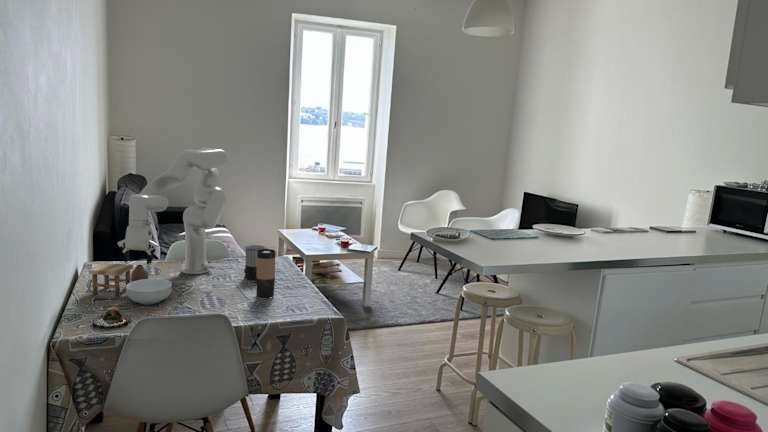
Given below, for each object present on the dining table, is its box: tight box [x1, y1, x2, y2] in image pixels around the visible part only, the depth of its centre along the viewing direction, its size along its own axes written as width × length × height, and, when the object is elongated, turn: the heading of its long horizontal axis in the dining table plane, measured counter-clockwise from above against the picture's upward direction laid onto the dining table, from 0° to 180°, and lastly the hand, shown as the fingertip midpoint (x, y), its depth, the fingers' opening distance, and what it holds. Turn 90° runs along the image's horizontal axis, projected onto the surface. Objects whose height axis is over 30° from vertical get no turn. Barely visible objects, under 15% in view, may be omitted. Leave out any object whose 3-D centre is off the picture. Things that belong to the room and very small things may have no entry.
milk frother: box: [243, 244, 268, 280], centre depth 259 cm, size 14×16×15 cm
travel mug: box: [255, 248, 276, 299], centre depth 228 cm, size 8×8×20 cm
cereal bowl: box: [125, 278, 172, 305], centre depth 214 cm, size 17×17×7 cm
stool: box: [88, 262, 134, 298], centre depth 222 cm, size 12×12×10 cm
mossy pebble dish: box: [92, 305, 131, 328], centre depth 190 cm, size 12×12×8 cm
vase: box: [130, 264, 149, 282], centre depth 234 cm, size 7×7×9 cm
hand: (137, 262), depth 232 cm, fingers open, 9 cm apart
